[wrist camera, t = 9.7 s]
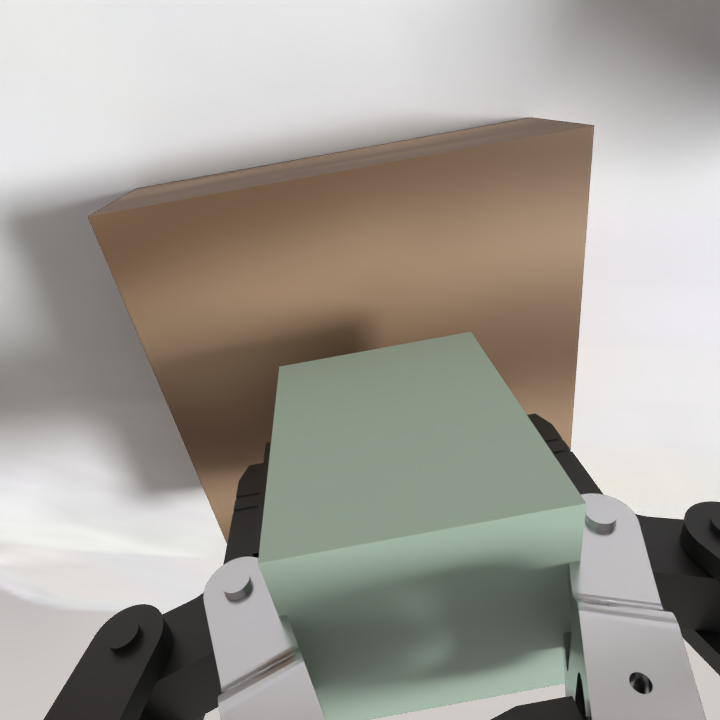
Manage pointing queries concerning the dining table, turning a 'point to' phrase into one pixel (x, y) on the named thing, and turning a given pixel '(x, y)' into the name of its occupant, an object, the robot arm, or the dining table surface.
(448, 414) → the block
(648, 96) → the dining table surface
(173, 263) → the plinth
